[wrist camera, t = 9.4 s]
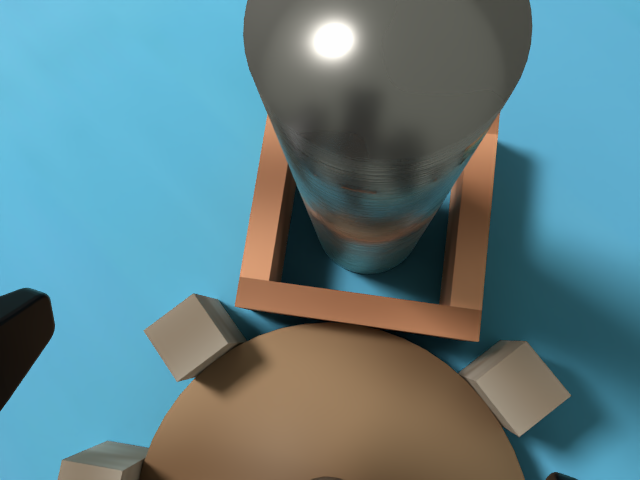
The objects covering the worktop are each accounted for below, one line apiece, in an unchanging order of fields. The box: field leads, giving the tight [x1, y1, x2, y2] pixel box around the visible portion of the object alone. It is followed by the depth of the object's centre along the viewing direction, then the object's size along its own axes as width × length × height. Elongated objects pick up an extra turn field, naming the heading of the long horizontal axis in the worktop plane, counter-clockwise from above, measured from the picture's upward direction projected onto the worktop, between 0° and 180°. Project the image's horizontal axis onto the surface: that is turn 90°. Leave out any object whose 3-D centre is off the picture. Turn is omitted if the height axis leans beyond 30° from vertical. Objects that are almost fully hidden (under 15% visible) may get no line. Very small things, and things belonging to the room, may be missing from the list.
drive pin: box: [243, 0, 532, 274], centre depth 14 cm, size 4×4×13 cm
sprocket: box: [58, 113, 571, 480], centre depth 17 cm, size 23×17×3 cm
